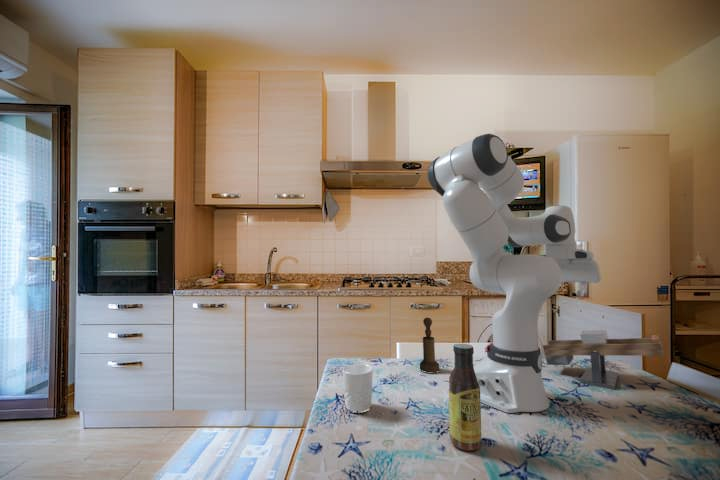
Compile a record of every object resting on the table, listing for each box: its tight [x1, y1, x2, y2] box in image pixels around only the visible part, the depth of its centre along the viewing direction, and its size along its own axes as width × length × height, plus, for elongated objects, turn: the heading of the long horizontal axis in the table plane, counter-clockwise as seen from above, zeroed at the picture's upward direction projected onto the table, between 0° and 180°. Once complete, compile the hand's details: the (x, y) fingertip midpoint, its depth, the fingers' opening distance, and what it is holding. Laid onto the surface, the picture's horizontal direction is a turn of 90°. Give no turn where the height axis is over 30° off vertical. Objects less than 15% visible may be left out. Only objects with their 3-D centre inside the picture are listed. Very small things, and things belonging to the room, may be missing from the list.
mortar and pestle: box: [419, 317, 440, 372], centre depth 108 cm, size 7×6×18 cm
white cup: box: [342, 363, 373, 411], centre depth 81 cm, size 8×8×10 cm
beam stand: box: [579, 351, 619, 390], centre depth 96 cm, size 8×14×10 cm, turn 137°
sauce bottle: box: [448, 343, 482, 452], centre depth 65 cm, size 7×6×20 cm
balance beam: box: [542, 334, 665, 366], centre depth 96 cm, size 29×10×7 cm, turn 47°
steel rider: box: [579, 329, 610, 344], centre depth 97 cm, size 6×6×4 cm
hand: (564, 295), depth 103 cm, fingers open, 8 cm apart
